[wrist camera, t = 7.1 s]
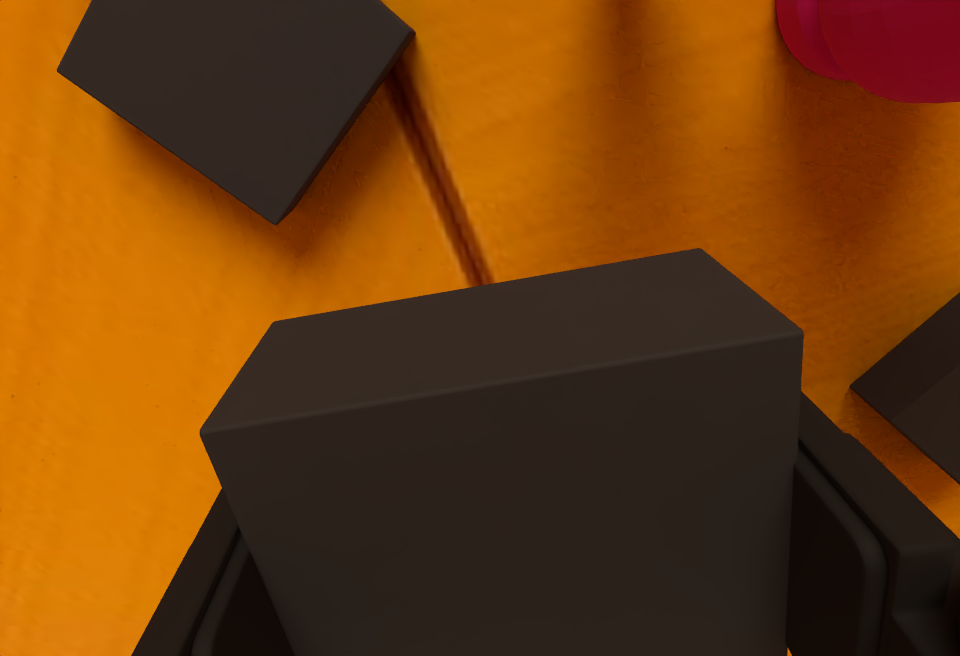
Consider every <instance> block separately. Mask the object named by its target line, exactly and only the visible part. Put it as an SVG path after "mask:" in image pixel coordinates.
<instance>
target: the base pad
mask: <svg viewBox="0 0 960 656" xmlns="http://www.w3.org/2000/svg"><path fill="white" fill-rule="evenodd" d="M415 35H416V32H415V31H414V30H413V29H412V28H411V27H409V26H408V25H407V24H406V23H405V22H404V21H403V20H401V19H400V18H399V17H398V16H397V15H396V14H395V13H393V12H392V11H391V10H390V9H389V8H388V7H387V6H385V5H384V4H383V3H382V2H381V1H380V0H92V1H91V3H90V5H89V7H88V9H87V11H86V13H85V15H84V17H83V19H82V21H81V23H80V25H79V27H78V29H77V31H76V33H75V35H74V36H73V38H72V40H71V42H70V44H69V46H68V48H67V50H66V52H65V54H64V56H63V58H62V60H61V62H60V64H59V66H58V68H57V72H58V73H60V74H61V75H62V76H64V77H65V78H67V79H68V80H69V81H71V82H72V83H74V84H75V85H77V86H78V87H79V88H81V89H82V90H84V91H85V92H86V93H88V94H89V95H91V96H92V97H94V98H95V99H96V100H98V101H99V102H101V103H102V104H103V105H105V106H106V107H108V108H109V109H111V110H112V111H113V112H115V113H116V114H118V115H119V116H120V117H122V118H123V119H125V120H126V121H128V122H129V123H130V124H132V125H133V126H135V127H136V128H137V129H139V130H140V131H142V132H143V133H145V134H146V135H147V136H149V137H150V138H152V139H153V140H154V141H156V142H157V143H159V144H160V145H162V146H163V147H164V148H166V149H167V150H169V151H170V152H171V153H173V154H174V155H176V156H177V157H179V158H180V159H181V160H183V161H184V162H186V163H187V164H188V165H190V166H191V167H193V168H194V169H196V170H197V171H198V172H200V173H201V174H203V175H204V176H205V177H207V178H208V179H210V180H211V181H212V182H214V183H215V184H217V185H218V186H220V187H221V188H222V189H224V190H225V191H227V192H228V193H229V194H231V195H232V196H234V197H235V198H237V199H238V200H239V201H241V202H242V203H244V204H245V205H246V206H248V207H249V208H251V209H252V210H254V211H255V212H256V213H258V214H259V215H261V216H262V217H263V218H265V219H266V220H268V221H269V222H271V223H272V224H273V225H278V224H279V223H280V222H281V221H282V220H283V219H284V218H285V217H286V216H287V215H288V214H289V213H290V212H291V211H292V210H293V209H294V208H295V206H296V205H297V204H298V202H299V201H300V199H301V198H302V196H303V195H304V194H305V192H306V191H307V189H308V188H309V186H310V185H311V184H312V182H313V181H314V179H315V178H316V176H317V175H318V174H319V172H320V171H321V169H322V168H323V166H324V165H325V164H326V162H327V161H328V159H329V158H330V156H331V155H332V154H333V152H334V151H335V149H336V148H337V146H338V145H339V144H340V142H341V141H342V139H343V138H344V136H345V135H346V134H347V132H348V131H349V129H350V128H351V126H352V125H353V124H354V122H355V121H356V119H357V118H358V116H359V115H360V114H361V112H362V111H363V109H364V108H365V106H366V105H367V104H368V102H369V101H370V99H371V98H372V96H373V95H374V94H375V92H376V91H377V89H378V88H379V86H380V85H381V84H382V82H383V81H384V79H385V78H386V76H387V75H388V74H389V72H390V71H391V69H392V68H393V66H394V65H395V64H396V62H397V61H398V59H399V58H400V56H401V55H402V54H403V52H404V51H405V49H406V48H407V46H408V45H409V44H410V42H411V41H412V39H413V38H414V36H415Z"/></svg>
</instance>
